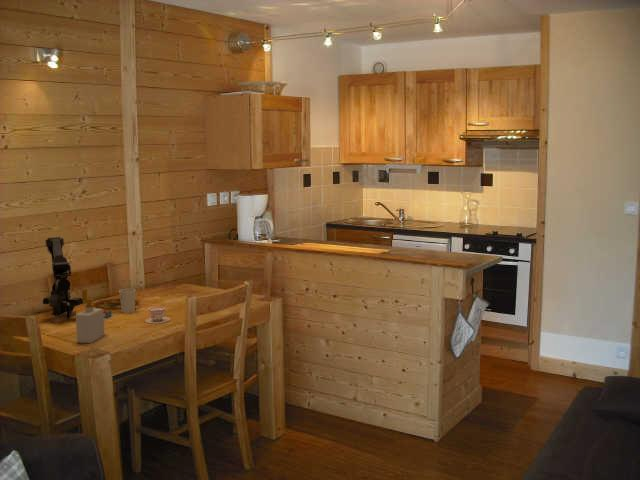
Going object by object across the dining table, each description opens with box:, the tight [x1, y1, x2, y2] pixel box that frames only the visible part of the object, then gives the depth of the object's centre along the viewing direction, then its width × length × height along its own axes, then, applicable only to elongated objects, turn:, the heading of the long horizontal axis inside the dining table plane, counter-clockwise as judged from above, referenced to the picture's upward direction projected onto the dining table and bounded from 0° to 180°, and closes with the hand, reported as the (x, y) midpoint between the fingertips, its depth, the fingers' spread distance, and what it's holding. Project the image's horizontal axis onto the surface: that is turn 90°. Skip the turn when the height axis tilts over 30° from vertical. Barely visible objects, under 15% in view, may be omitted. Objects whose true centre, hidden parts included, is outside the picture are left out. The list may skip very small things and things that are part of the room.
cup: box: [118, 288, 136, 314], centre depth 351 cm, size 8×8×12 cm
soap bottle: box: [75, 286, 105, 344], centre depth 307 cm, size 12×7×23 cm, turn 167°
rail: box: [50, 310, 77, 324], centre depth 339 cm, size 4×15×4 cm, turn 164°
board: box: [103, 313, 118, 322], centre depth 339 cm, size 12×18×1 cm, turn 166°
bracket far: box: [103, 309, 112, 318], centre depth 342 cm, size 9×4×3 cm, turn 76°
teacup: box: [144, 306, 171, 325], centre depth 338 cm, size 12×12×6 cm
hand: (63, 318), depth 339 cm, fingers open, 5 cm apart
